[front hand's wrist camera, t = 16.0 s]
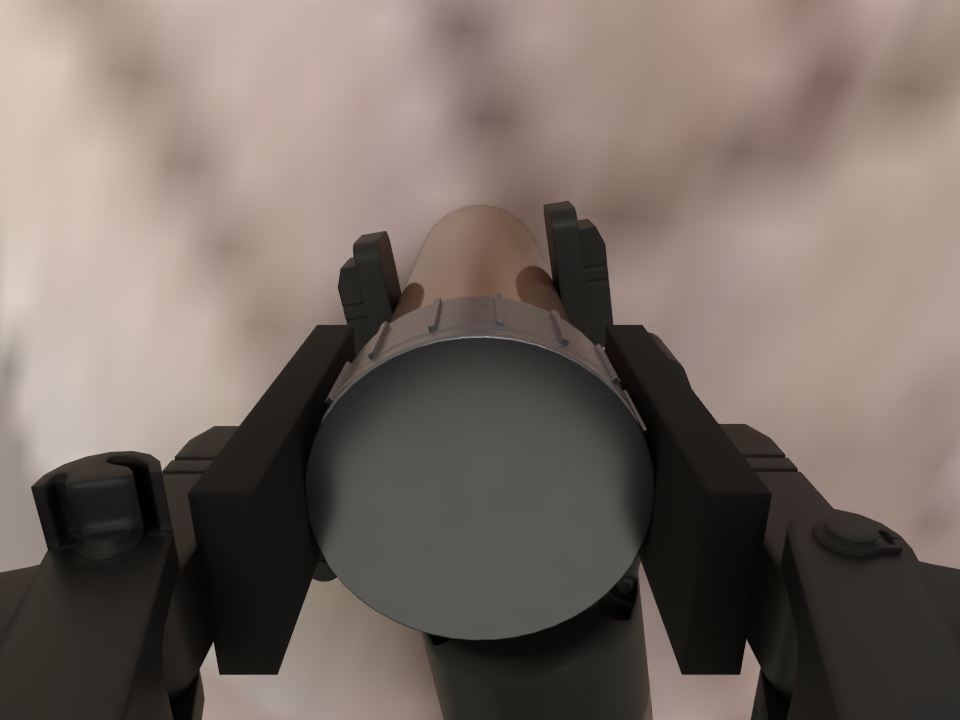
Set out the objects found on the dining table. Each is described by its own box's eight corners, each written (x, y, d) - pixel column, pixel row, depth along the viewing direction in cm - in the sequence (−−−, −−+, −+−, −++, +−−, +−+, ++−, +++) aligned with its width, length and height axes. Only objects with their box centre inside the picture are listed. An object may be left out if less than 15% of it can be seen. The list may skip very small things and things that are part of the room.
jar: (534, 326, 26) (607, 604, 11) (418, 320, 26) (337, 593, 11) (544, 208, 25) (644, 351, 10) (421, 202, 25) (330, 336, 10)
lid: (579, 244, 11) (602, 273, 9) (664, 513, 12) (700, 590, 10) (278, 352, 11) (235, 403, 9) (400, 594, 13) (385, 680, 11)
